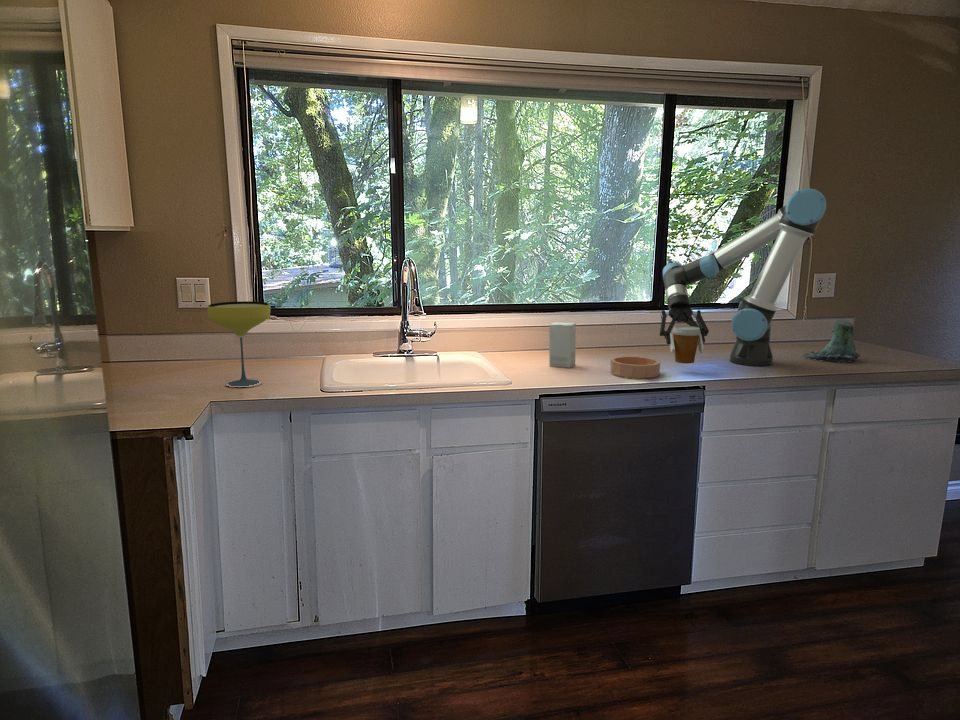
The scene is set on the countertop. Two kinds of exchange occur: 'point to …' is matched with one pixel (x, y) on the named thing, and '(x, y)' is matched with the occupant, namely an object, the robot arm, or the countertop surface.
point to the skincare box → (562, 344)
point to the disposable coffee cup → (685, 343)
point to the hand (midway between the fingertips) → (687, 351)
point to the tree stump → (838, 345)
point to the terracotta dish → (635, 367)
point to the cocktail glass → (239, 324)
